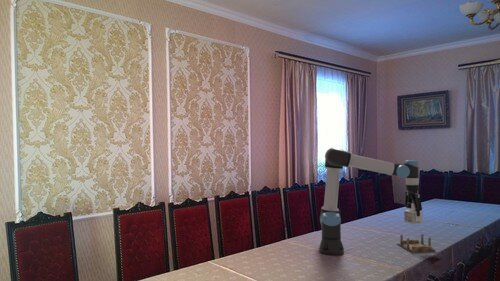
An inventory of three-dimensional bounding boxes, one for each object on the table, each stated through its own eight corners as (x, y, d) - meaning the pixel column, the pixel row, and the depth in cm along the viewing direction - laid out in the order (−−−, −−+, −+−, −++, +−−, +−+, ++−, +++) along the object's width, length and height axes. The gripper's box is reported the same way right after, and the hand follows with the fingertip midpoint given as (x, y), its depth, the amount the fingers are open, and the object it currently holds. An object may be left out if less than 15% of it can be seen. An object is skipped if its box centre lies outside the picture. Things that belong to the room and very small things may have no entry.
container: (404, 222, 222) (403, 201, 223) (413, 220, 225) (412, 200, 225) (413, 224, 215) (413, 203, 215) (423, 223, 218) (422, 202, 218)
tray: (410, 252, 211) (409, 239, 211) (397, 244, 227) (396, 233, 227) (435, 251, 212) (434, 239, 212) (420, 243, 228) (420, 232, 228)
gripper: (428, 186, 210) (429, 223, 210) (408, 182, 232) (409, 215, 231) (416, 186, 209) (417, 223, 209) (398, 182, 231) (399, 216, 231)
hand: (413, 219), depth 220 cm, fingers closed on container, 9 cm apart
